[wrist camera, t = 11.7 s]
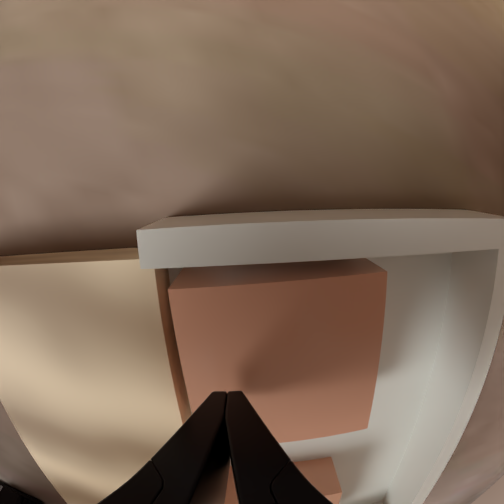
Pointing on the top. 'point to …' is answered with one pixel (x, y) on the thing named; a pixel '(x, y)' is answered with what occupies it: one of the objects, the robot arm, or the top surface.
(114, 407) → the oak board
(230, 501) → the tile
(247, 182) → the top surface
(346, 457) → the tray
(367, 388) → the tile
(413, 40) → the top surface
